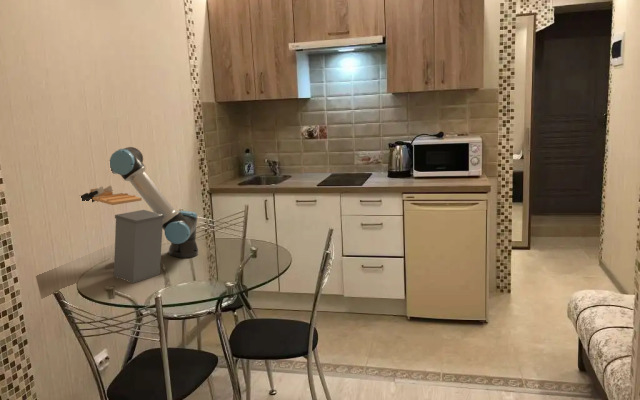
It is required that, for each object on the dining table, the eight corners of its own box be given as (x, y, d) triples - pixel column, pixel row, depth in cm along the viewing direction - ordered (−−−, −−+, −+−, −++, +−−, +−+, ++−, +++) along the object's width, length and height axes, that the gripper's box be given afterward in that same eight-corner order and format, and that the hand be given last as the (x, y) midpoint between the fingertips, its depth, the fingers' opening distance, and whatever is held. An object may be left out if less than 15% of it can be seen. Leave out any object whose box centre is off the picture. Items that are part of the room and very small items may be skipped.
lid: (78, 196, 232) (78, 190, 231) (108, 192, 246) (108, 187, 246) (112, 205, 222) (112, 199, 222) (141, 200, 237) (141, 195, 237)
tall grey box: (112, 276, 228) (115, 214, 223) (140, 267, 243) (143, 209, 237) (133, 283, 223) (135, 220, 217) (160, 274, 237) (164, 215, 232)
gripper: (94, 210, 253) (124, 194, 242) (63, 215, 238) (94, 198, 227) (89, 196, 253) (119, 179, 242) (58, 200, 238) (88, 183, 227)
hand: (107, 189), depth 235 cm, fingers closed on lid, 4 cm apart
